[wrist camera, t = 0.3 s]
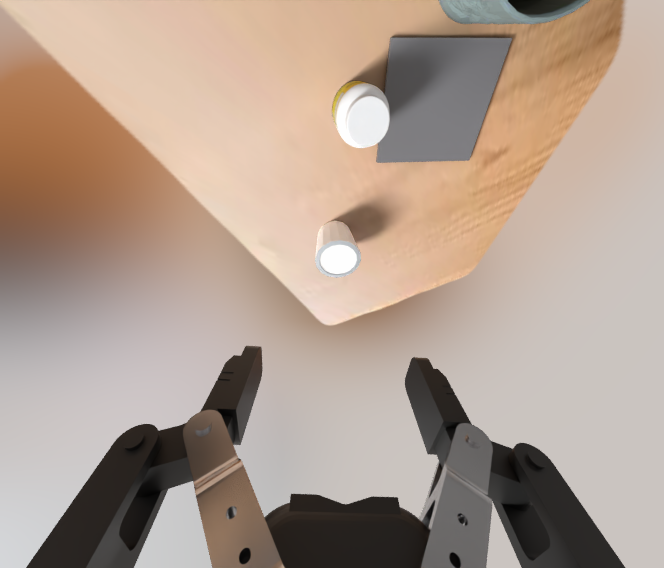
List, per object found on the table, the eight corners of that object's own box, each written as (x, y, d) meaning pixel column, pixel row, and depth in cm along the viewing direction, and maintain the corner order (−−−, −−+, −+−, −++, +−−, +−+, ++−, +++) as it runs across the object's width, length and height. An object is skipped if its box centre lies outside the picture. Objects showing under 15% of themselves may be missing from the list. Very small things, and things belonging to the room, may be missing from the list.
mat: (376, 161, 33) (377, 162, 33) (390, 38, 25) (391, 37, 25) (467, 159, 34) (469, 160, 34) (508, 38, 26) (512, 37, 26)
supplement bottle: (383, 90, 28) (409, 100, 21) (364, 141, 32) (381, 164, 25) (340, 71, 27) (352, 74, 20) (325, 125, 30) (331, 145, 23)
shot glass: (324, 210, 38) (327, 233, 33) (362, 226, 40) (370, 250, 35) (307, 244, 42) (307, 270, 37) (342, 257, 44) (347, 283, 39)
